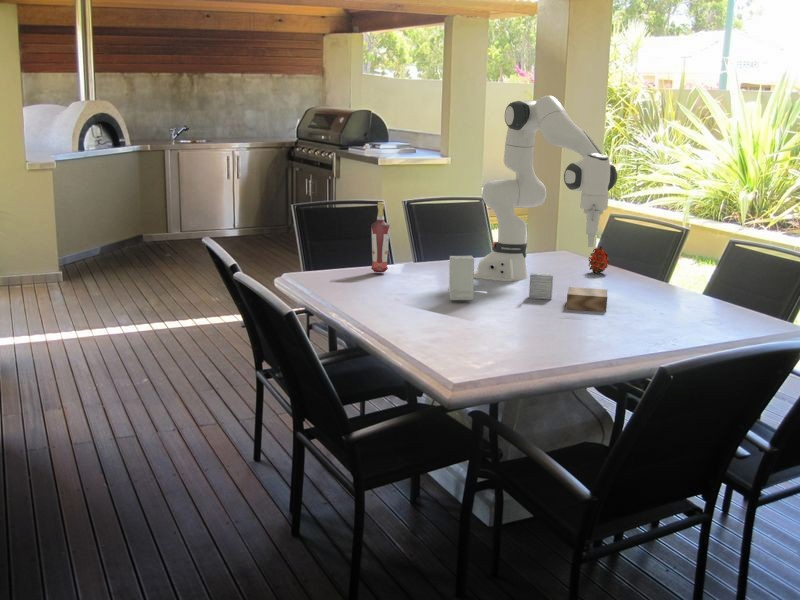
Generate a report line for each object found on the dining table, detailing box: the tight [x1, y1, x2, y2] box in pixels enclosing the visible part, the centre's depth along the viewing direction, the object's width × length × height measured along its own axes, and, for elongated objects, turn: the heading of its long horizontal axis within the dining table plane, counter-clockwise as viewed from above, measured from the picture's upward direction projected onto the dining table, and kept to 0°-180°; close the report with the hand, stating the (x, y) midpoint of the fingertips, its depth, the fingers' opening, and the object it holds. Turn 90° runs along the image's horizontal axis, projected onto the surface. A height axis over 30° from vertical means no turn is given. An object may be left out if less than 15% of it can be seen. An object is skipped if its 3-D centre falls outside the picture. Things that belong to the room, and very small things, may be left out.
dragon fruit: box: [588, 245, 610, 274], centre depth 347 cm, size 8×8×12 cm
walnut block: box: [565, 286, 608, 312], centre depth 286 cm, size 13×13×5 cm
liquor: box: [370, 201, 390, 273], centre depth 339 cm, size 7×7×28 cm
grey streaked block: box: [528, 272, 554, 301], centre depth 297 cm, size 8×4×9 cm, turn 77°
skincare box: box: [448, 255, 475, 301], centre depth 293 cm, size 8×6×15 cm
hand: (590, 244), depth 283 cm, fingers open, 8 cm apart
